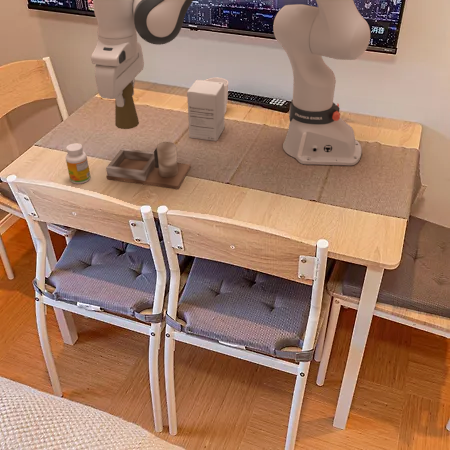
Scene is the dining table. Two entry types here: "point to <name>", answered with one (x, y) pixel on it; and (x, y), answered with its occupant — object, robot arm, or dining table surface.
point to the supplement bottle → (77, 164)
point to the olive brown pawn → (126, 110)
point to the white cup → (224, 89)
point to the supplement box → (206, 110)
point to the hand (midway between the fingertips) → (125, 100)
